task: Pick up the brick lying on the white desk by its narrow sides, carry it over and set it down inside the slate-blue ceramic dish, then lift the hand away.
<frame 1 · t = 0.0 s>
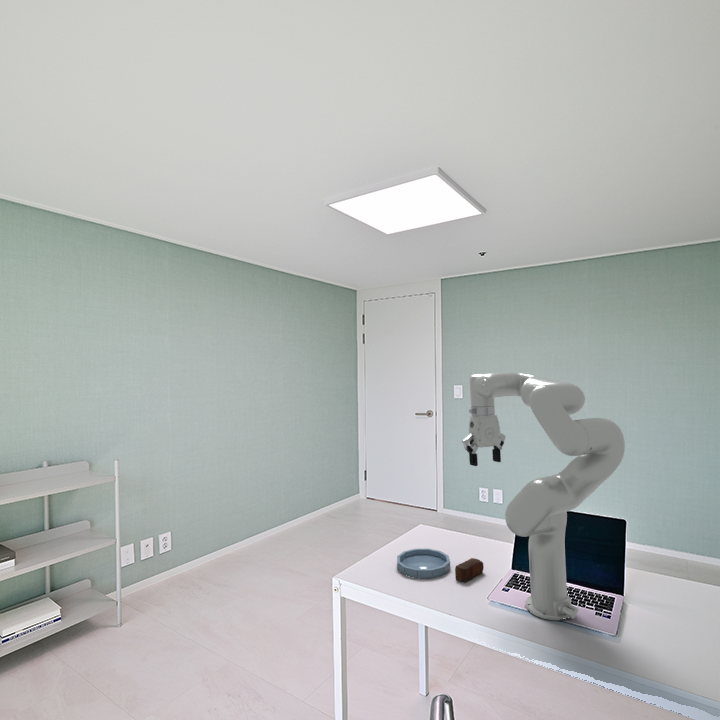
hand: (485, 463, 151), 37 cm above the table, tool pointing down, fingers open, 9 cm apart
dish: (423, 566, 160), on the table
brick: (469, 577, 151), on the table
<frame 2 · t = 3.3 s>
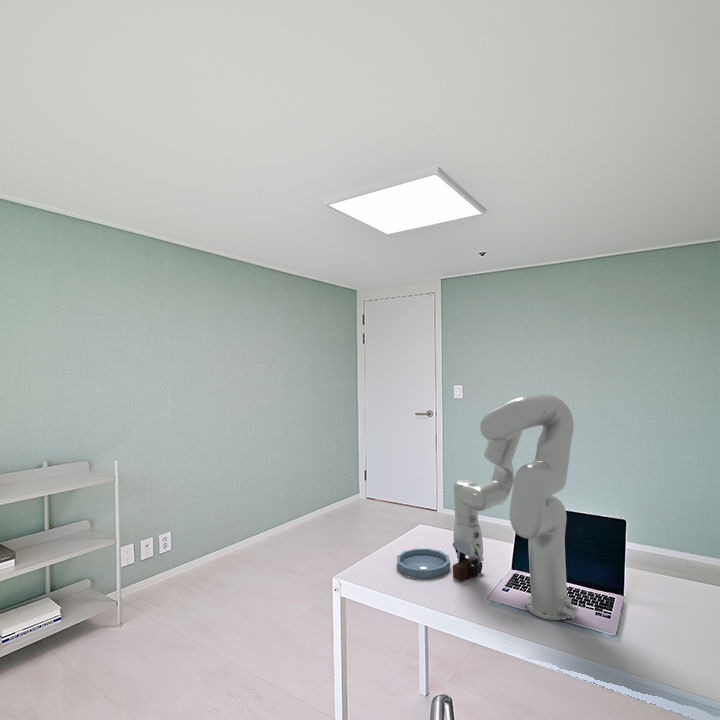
hand: (468, 573, 152), 1 cm above the table, tool pointing down, fingers closed on brick, 4 cm apart
brick: (467, 576, 151), on the table, touching gripper
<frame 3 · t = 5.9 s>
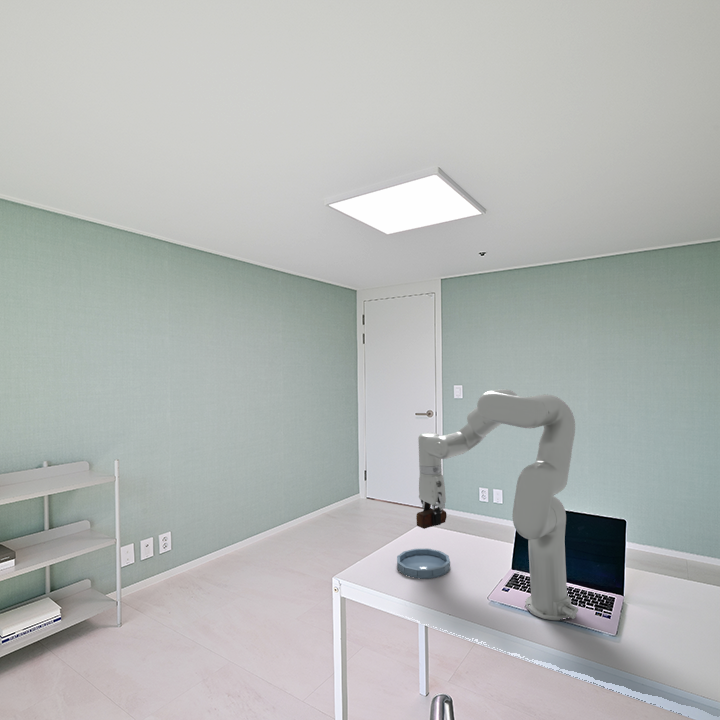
hand: (432, 522, 158), 16 cm above the table, tool pointing down, fingers closed on brick, 4 cm apart
brick: (431, 525, 158), point 15 cm above the table, touching gripper
when the fingers open (4 cm above the table, at t = 8.8 s): brick drops 2 cm, resting on dish.
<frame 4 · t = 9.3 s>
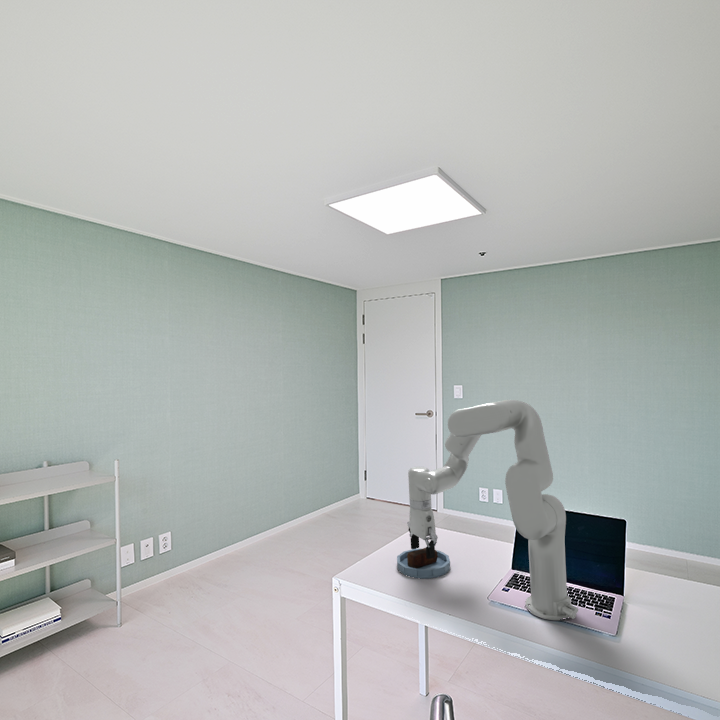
hand: (422, 553, 160), 5 cm above the table, tool pointing down, fingers open, 9 cm apart
brick: (422, 564, 160), point 1 cm above the table, touching dish
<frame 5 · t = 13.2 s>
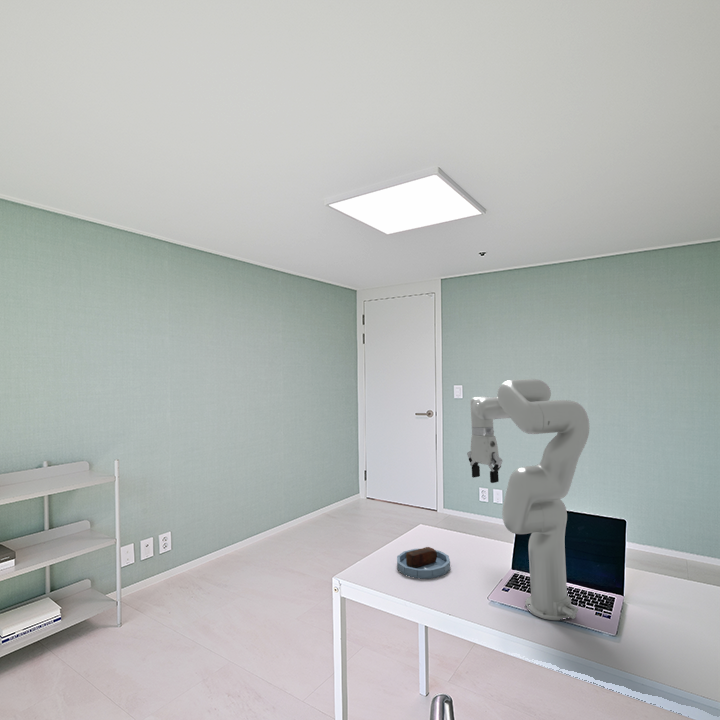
hand: (485, 479, 164), 28 cm above the table, tool pointing down, fingers open, 9 cm apart
nothing on the table moved.
at the end: brick inside the target area on the dish (0.4 cm from its centre), point 0.8 cm above the dish's base; brick tilted 0°; the gripper is holding nothing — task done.
